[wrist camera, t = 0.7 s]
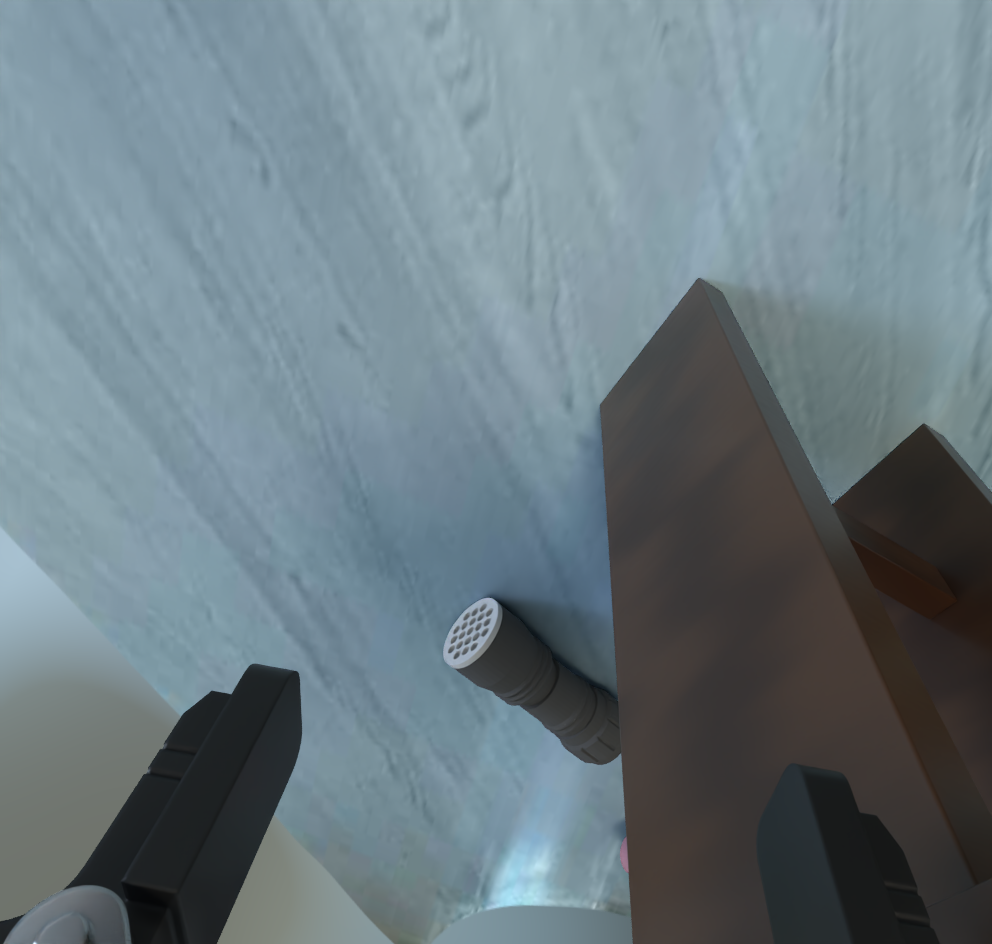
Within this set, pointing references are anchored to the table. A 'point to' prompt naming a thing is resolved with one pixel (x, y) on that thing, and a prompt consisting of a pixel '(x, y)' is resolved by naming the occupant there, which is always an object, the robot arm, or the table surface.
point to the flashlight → (533, 680)
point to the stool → (787, 638)
